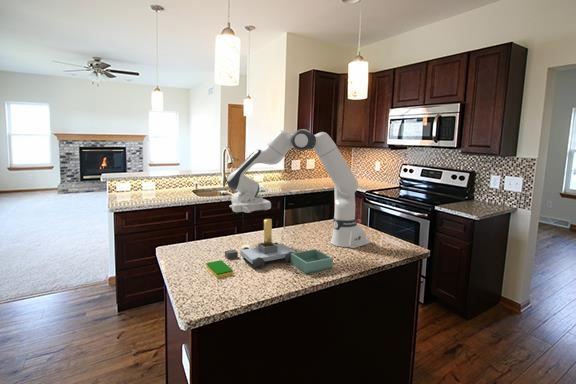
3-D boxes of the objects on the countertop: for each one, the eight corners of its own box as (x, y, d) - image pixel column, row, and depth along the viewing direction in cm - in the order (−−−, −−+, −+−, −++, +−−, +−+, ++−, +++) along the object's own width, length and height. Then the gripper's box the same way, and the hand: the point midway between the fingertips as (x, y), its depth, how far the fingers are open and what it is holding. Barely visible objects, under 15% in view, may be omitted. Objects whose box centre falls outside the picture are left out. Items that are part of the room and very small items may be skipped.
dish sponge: (221, 264, 147) (221, 259, 147) (233, 275, 136) (233, 270, 135) (206, 268, 144) (205, 262, 143) (216, 279, 132) (216, 273, 132)
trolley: (280, 251, 165) (280, 236, 164) (296, 261, 151) (296, 246, 150) (239, 258, 155) (239, 243, 154) (252, 270, 140) (252, 253, 139)
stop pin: (269, 249, 155) (269, 218, 152) (272, 251, 151) (273, 220, 149) (262, 250, 153) (262, 219, 150) (265, 252, 150) (265, 221, 147)
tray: (315, 259, 155) (315, 248, 154) (332, 268, 143) (332, 258, 142) (290, 263, 148) (290, 253, 147) (306, 274, 136) (306, 263, 136)
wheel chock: (234, 255, 159) (234, 249, 159) (237, 257, 156) (237, 251, 155) (224, 257, 157) (224, 251, 156) (227, 259, 153) (227, 253, 153)
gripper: (228, 199, 166) (237, 204, 154) (264, 196, 176) (275, 201, 164) (228, 211, 167) (237, 217, 155) (264, 208, 177) (275, 213, 165)
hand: (257, 209), depth 160 cm, fingers open, 8 cm apart
